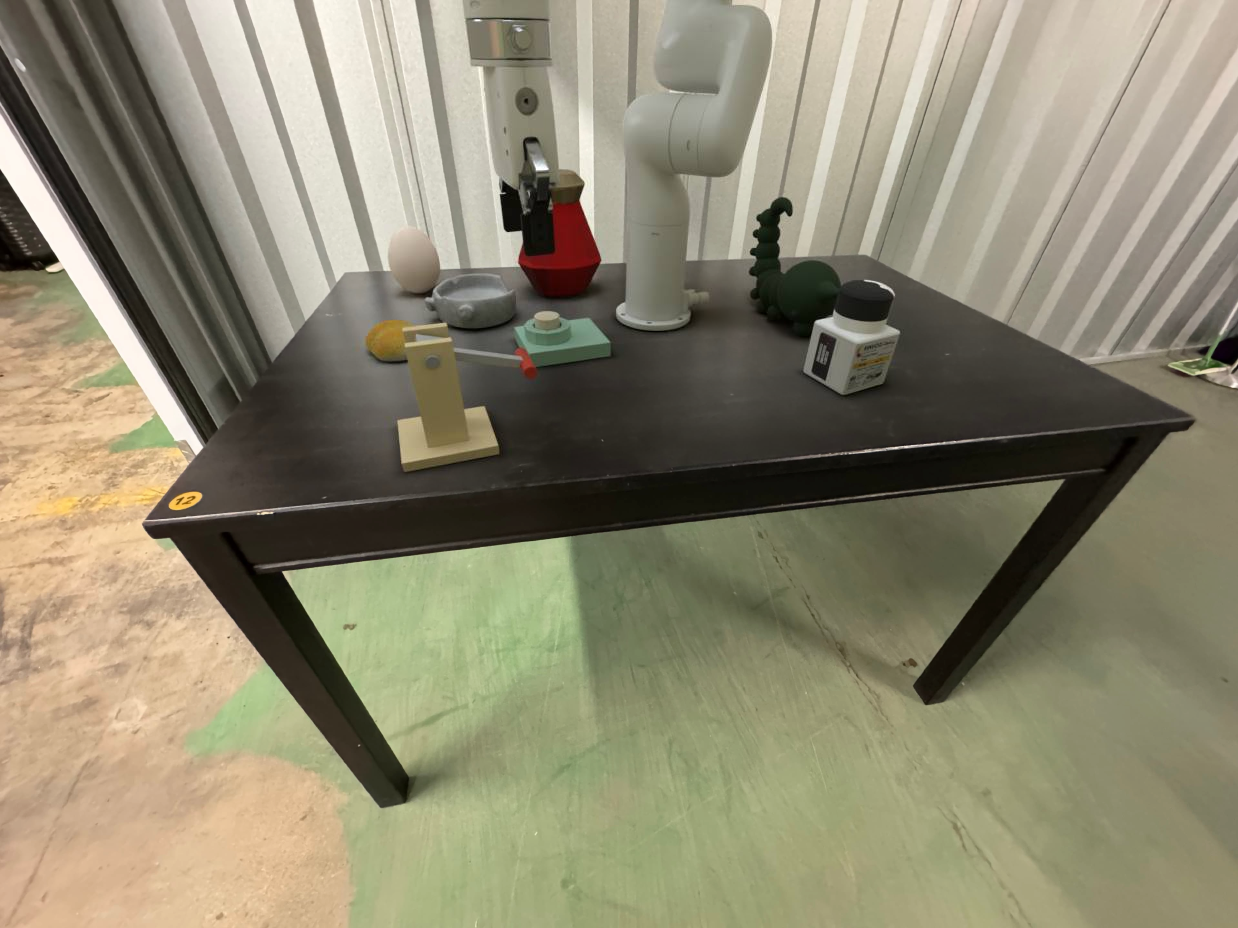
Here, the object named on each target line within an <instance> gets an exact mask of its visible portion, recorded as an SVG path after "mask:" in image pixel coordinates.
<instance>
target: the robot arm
mask: <svg viewBox="0 0 1238 928" xmlns="http://www.w3.org/2000/svg"><path fill="white" fill-rule="evenodd" d="M461 1H462V8H463V14H464V17H463V18H464V19H465V20H464V23H465V24H464V25H465V31H466V39H467V47H468V55H469V63H470V67H478V68H479V67H481V68H482V73H483V74H482V77H483V92H484V99H485V100H484V101H485V108H486V109H485V110H486V119H487V126H488V136H489V145H490V151H491V157H492V164H493V169H494V171H495V174H496V176H498V186H499V192H500V193H499V202H500V209H501V210H500V211H501V218H502V219H501V220H502V225H503V227H502V229H503V230H504V231H505V232H506V233H518V232H521V236H522V237H521V238H522V244H523V248H524V253H525V255H526V256H538V255H547V254H553V253H554V252H555V238H554V222H553V205H552V201H551V197H552V192H551V190H550V189H549V186H551V187H556V186H557V185H558V183H559V181H560V175H559V169H560V165H559V154H558V143H557V142H558V141H557V132H556V122H555V121H556V120H555V113H554V105H553V97H552V90H551V83H550V77H549V72H548V67H553V66H554V65H553V48H552V29H551V28H552V27H551V21H550V20H551V11H550V0H461ZM664 6H665V8H664V11H663V14H662V18H661V21H660V26H659V28H658V33H657V36H656V41H655V47H654V51H653V57H652V66H653V67H652V69H653V75H654V77H655V79H656V81H657V83H658V84H660V86H661V87H663V88H665V89H667V90H669V91H673V92H668V91H667V92H665V91H664V92H662V91H661V92H660V91H659V92H650V93H645V94H642V95H640V96H638V97H637V98H635V99H634V100H633V101H631V102H630V104H629V105H628V107H627V109H626V110H625V112H624V115H623V119H622V126H621V138H622V139H621V141H622V148H623V154H624V163H625V169H626V180H627V181H626V183H627V215H626V216H627V217H626V226H627V227H626V258H625V259H626V262H625V298H624V299H625V300H624V302H621V304H619V305H618V306H616V309H615V317H616V319H617V321H618V322H620V323H621V324H622V325H624V326H626V327H629V328H632V329H636V330H641V331H647V332H649V331H651V332H662V331H671V330H676V329H679V328H682V327H685V326H686V325H687V324H688V323H689V322H690V321H691V315H692V314H691V313H692V312H691V310H690V309H689V308H691V307H693V305H703V304H708V303H709V301H710V294H709V292H708V291H699V292H696V290H695V289H694V288H692V289H685V288H684V287H685V275H686V266H687V255H688V254H687V253H688V243H689V242H688V241H689V232H690V231H689V230H690V220H691V219H690V218H691V201H690V197H689V194H688V193H689V192H688V191H687V188H686V186H685V184H684V181H683V179H682V177H681V175H686V176H687V175H688V176H695V177H696V176H697V177H706V178H725V177H727V176H730V175H732V173H734V172H735V170H736V169H737V168H738V166H739V165H740V162H741V161H742V158H743V156H744V153H745V150H746V147H747V144H748V141H749V137H750V134H751V131H752V127H753V123H754V121H755V117H756V113H757V110H758V106H759V104H760V101H761V97H762V94H763V91H764V88H765V87H764V86H765V84H766V80H767V76H768V73H769V68H770V64H771V59H772V50H773V28H772V24H771V20H770V19H769V17H768V15H767V13H766V12H765V11H764V9H761V8H760V7H759V6H755V5H750V4H732V0H666V3H665V5H664Z"/></svg>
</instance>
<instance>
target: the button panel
mask: <svg viewBox="0 0 1238 928" xmlns="http://www.w3.org/2000/svg"><path fill="white" fill-rule="evenodd" d="M559 318H560V327H559V328H557V329H554V330H539V329H536V328H535V320H534V317H533V318H530V319H528V320H526V322H525V323H524V324H523V325H522V326H521V325H520V326H514V327H513V329H514V338H515V339H514V340H515V343H516V345H518V348H524V349H525V350H526V351H527V353H528V355H529V357H530V358H531V360H532V362H533V364H534V365H535V367H536V368H540V367H546V366H553V365H558V364H566V363H573V362H580V361H587V360H594V359H600V358H606V357H607V358H608V357H611V349H612V348H611V341H610V340H609V338H607V336H606V335H605V334H604V333H603V332H602V330H600V329H599V327H598V326H597V325H596V324H595V323H594V322H593V320H592V319H591V318H590V317H584V318H576V319H566V318H563V317H560V316H559Z"/></svg>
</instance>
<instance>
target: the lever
mask: <svg viewBox="0 0 1238 928" xmlns="http://www.w3.org/2000/svg"><path fill="white" fill-rule="evenodd" d="M434 339H442V338H441V337H434V336H427V335H420V334H416V336H415V342H418V341H426V340H434ZM453 348H454V354H455V359H456V362H465V363H472V364H480V365H489V366H496V367H505V368H514V369H520V370H521V371H522V373H523V375H524V377H525V378H526V379H529V380H532V379H535V378H536V377H537V375H538V369H537V367H535V365H534V364H533V362H532V360H531V358H530V357H529V355H528V353H527V351H526V350H525V349H524V348H519V347H518V348H517V349H516V350H515V351H514V354H506V353H499V352H491V351H483V350H476V349H469V348H461V347H454V346H453Z"/></svg>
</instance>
